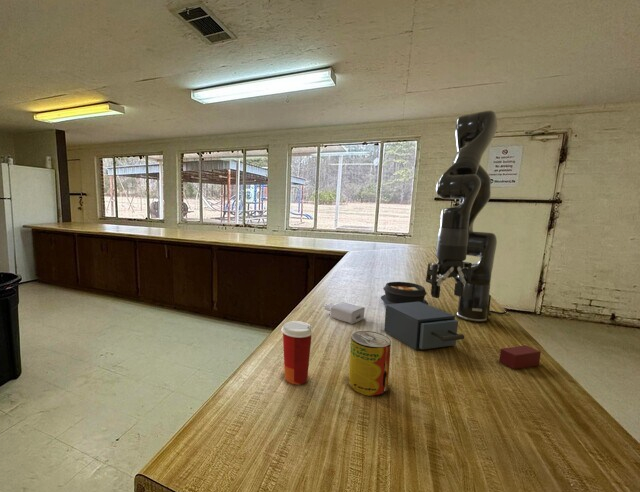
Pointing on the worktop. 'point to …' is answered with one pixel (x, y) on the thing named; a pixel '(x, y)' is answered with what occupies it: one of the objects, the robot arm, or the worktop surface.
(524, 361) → the red rectangular box
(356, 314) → the charger
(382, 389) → the food can
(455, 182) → the robot arm
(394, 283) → the casserole
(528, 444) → the worktop surface
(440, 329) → the drawer
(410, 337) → the cabinet
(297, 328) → the paper cup
